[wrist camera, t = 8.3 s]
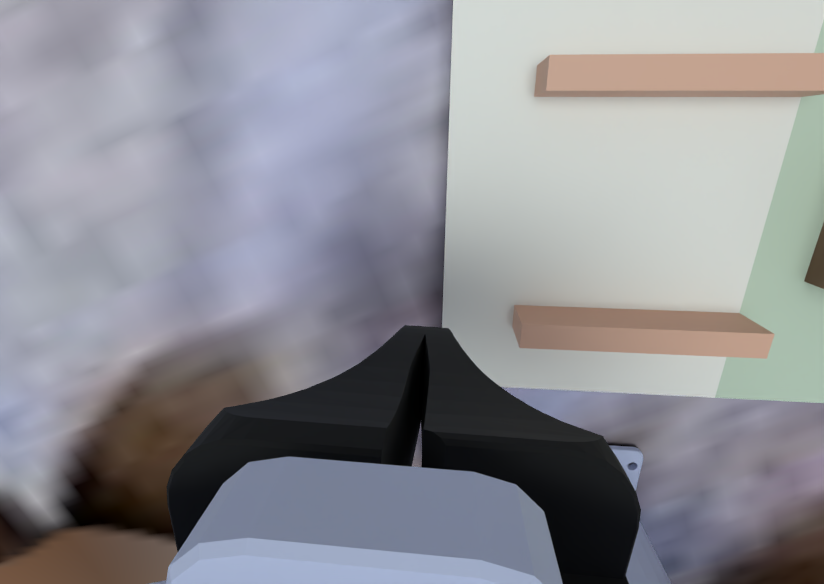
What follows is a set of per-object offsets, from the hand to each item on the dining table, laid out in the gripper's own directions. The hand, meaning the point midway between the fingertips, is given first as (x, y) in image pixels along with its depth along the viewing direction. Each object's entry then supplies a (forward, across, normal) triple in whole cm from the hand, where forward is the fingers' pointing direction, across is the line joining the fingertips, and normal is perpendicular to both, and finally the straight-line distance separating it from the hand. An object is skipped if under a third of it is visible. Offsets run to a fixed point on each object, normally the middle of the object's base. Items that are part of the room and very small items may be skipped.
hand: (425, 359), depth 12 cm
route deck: (+9, -14, -4) cm, 18 cm away
